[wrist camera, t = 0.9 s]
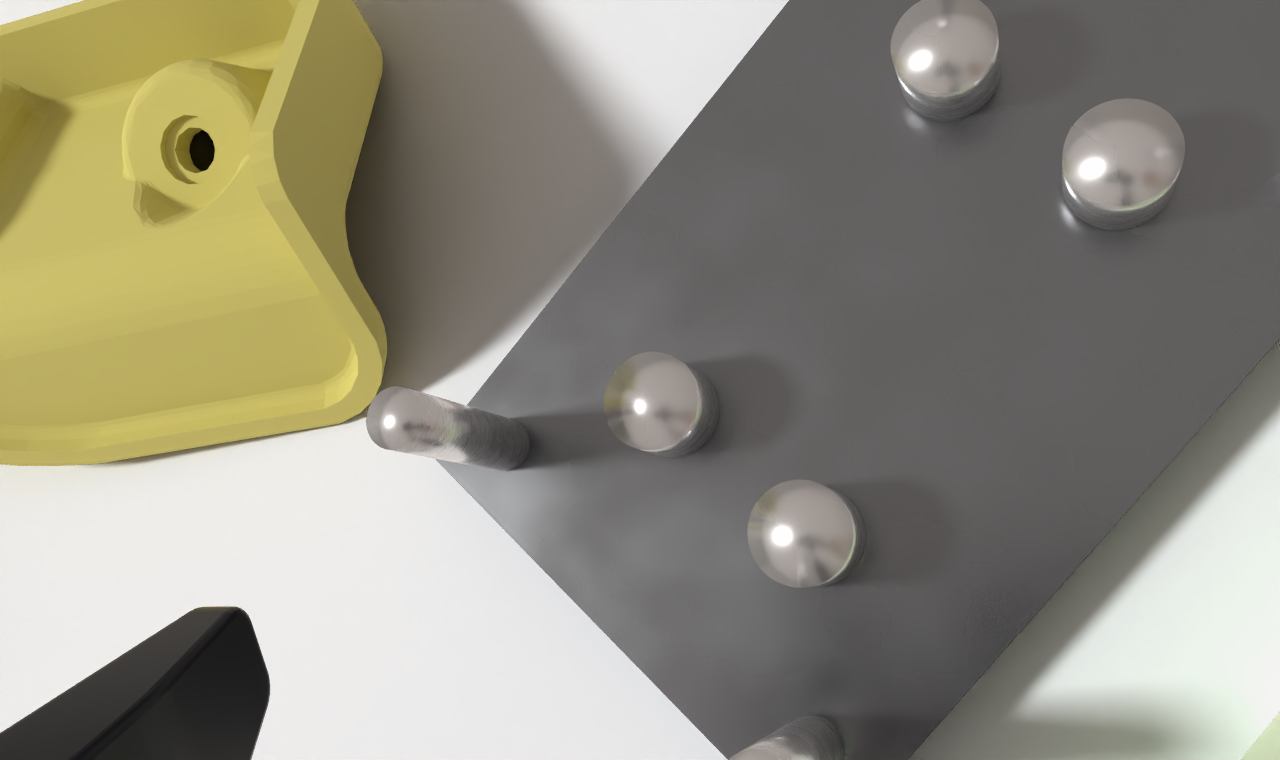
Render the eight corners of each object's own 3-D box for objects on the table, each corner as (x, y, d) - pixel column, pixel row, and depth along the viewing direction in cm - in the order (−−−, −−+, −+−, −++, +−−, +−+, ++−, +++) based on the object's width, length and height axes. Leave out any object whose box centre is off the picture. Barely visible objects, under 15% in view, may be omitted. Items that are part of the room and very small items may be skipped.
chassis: (1469, 122, 20) (1618, -37, 14) (831, 843, 21) (765, 928, 16) (941, -157, 24) (914, -354, 19) (451, 457, 26) (305, 428, 21)
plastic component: (348, -79, 27) (248, 196, 21) (469, 143, 32) (419, 411, 26) (-243, 97, 32) (-462, 360, 26) (-49, 263, 37) (-192, 512, 31)
